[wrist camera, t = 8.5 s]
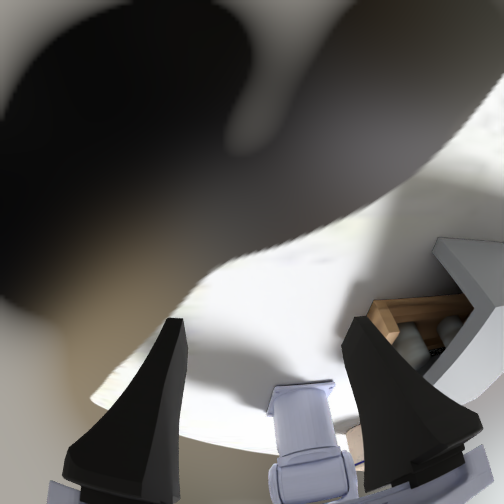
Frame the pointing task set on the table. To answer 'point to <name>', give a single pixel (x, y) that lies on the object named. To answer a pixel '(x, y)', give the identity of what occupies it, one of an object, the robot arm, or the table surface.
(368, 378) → the robot arm
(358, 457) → the teacup with lid
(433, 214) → the table surface
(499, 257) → the grey low stand
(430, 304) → the teak tray
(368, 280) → the table surface
